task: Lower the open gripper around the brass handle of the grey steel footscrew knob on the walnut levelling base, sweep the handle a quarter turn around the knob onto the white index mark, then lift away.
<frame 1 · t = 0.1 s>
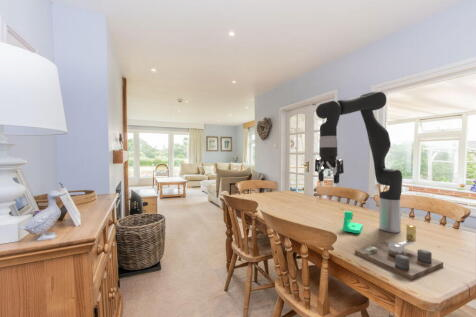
hand: (328, 182, 98), 29 cm above the table, tool pointing down, fingers open, 8 cm apart
camera mount: (353, 231, 117), on the table
levelling base: (396, 259, 85), on the table
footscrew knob: (403, 240, 87), point 7 cm above the table, hinge at 0.0°
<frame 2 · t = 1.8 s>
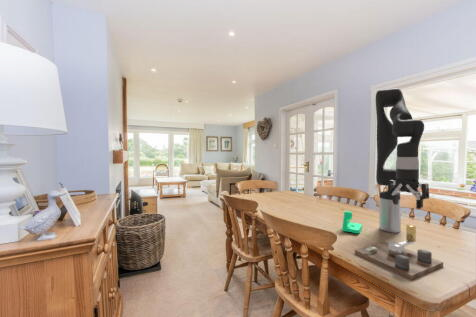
hand: (406, 206, 90), 20 cm above the table, tool pointing down, fingers open, 8 cm apart
nothing on the table moved.
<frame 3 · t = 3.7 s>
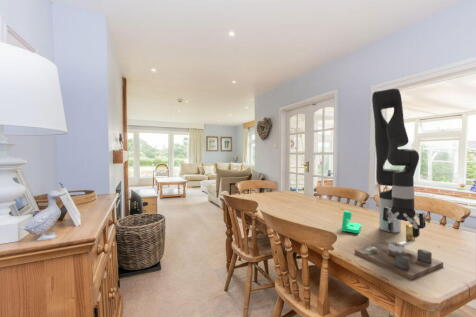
hand: (403, 234, 91), 8 cm above the table, tool pointing down, fingers open, 8 cm apart
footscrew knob: (402, 240, 87), point 7 cm above the table, hinge at 1.3°, touching gripper
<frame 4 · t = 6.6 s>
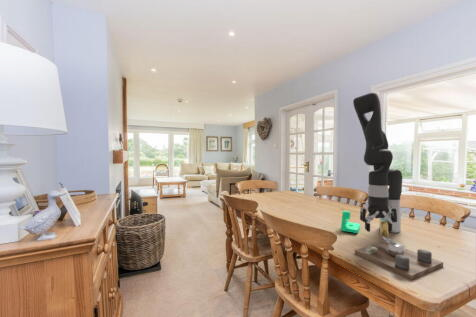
hand: (378, 231, 95), 8 cm above the table, tool pointing down, fingers open, 8 cm apart
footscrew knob: (390, 238, 90), point 7 cm above the table, hinge at 54.6°, touching gripper
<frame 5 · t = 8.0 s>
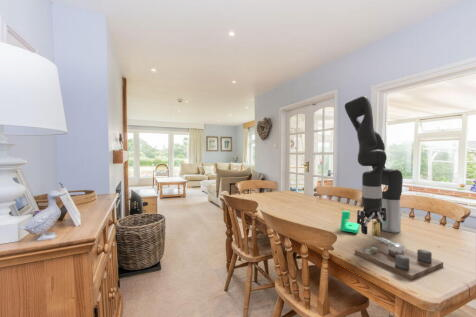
hand: (371, 232, 94), 7 cm above the table, tool pointing down, fingers open, 8 cm apart
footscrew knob: (386, 238, 90), point 7 cm above the table, hinge at 75.5°, touching gripper
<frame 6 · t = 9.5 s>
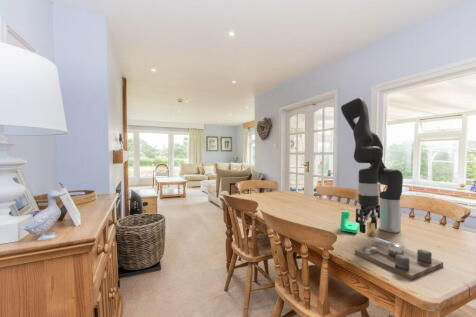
hand: (368, 230, 93), 9 cm above the table, tool pointing down, fingers open, 8 cm apart
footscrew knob: (384, 238, 89), point 7 cm above the table, hinge at 92.4°
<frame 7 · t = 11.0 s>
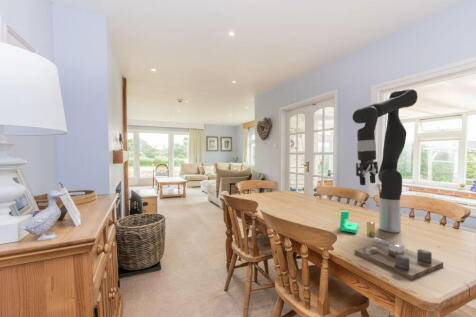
hand: (367, 184, 102), 27 cm above the table, tool pointing down, fingers open, 8 cm apart
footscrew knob: (384, 238, 89), point 7 cm above the table, hinge at 93.5°
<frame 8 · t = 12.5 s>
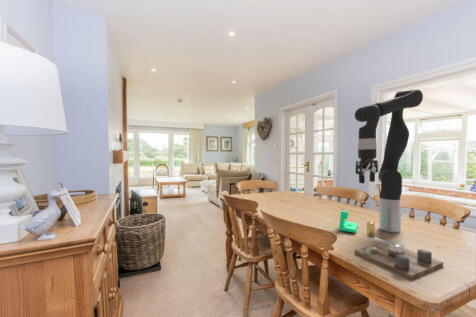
hand: (367, 182, 103), 28 cm above the table, tool pointing down, fingers open, 8 cm apart
at the end: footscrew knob at +94° (first picture: +0°); the gripper is holding nothing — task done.
